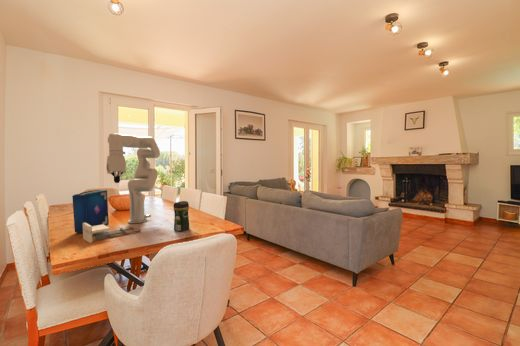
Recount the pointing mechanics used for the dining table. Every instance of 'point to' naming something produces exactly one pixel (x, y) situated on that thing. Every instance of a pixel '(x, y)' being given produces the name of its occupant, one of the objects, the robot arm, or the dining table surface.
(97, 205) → the book
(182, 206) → the coffee jar
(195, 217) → the dining table surface
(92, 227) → the shelf
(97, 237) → the slate gray sliding drawer
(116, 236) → the guide rails
